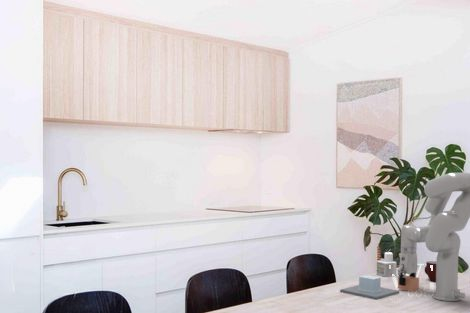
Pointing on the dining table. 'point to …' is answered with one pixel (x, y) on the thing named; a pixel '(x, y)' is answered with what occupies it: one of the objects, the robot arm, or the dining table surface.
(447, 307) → the dining table surface
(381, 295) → the baseplate
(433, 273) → the mug
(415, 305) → the dining table surface
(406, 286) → the terracotta brick
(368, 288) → the blue brick
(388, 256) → the container
